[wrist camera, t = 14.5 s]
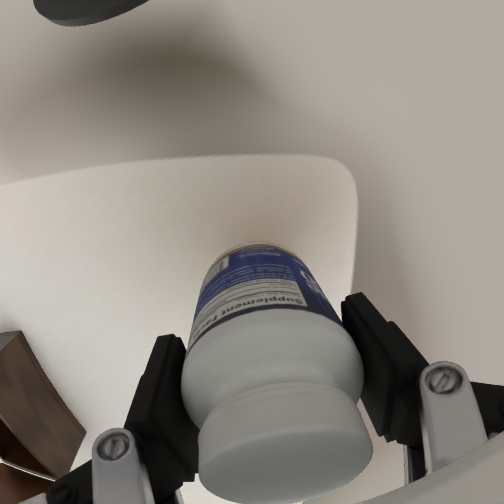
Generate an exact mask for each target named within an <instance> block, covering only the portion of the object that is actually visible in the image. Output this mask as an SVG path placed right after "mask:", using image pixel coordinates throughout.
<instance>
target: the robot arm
mask: <svg viewBox="0 0 504 504" xmlns="http://www.w3.org/2000/svg"><path fill="white" fill-rule="evenodd" d="M341 313H342V323H343V325H344V327H345V328H346V330H347V331H348V333H349V334H350V336H351V337H352V339H353V341H354V343H355V345H356V347H357V349H358V351H359V353H360V356H361V359H362V363H363V368H364V383H363V388H362V392H361V395H360V398H361V400H362V402H363V404H364V406H365V409H366V411H367V413H368V415H369V417H370V419H371V421H372V424H373V426H374V428H375V430H376V432H377V434H378V436H379V437H380V436H383V435H384V437H385V439H386V441H387V443H388V442H390V441H394V440H396V441H397V443H399V444H403V447H404V468H405V486H403V487H401V488H398V489H396V490H393V491H391V492H388V493H386V494H383V495H380V496H377V497H375V498H372V499H369V500H366V501H363V502H360V503H357V504H504V386H500V385H491V384H484V383H477V382H470V381H469V378H468V376H467V374H466V372H465V370H464V369H463V368H462V367H461V366H459V365H458V364H455V363H453V362H448V361H441V362H436V363H432V364H431V365H429V363H428V362H427V361H426V360H425V358H424V357H423V356H422V355H421V353H420V352H419V351H418V350H417V349H416V347H415V346H414V345H413V344H412V343H411V341H410V340H409V339H408V338H407V337H406V335H405V334H404V333H403V332H402V331H401V330H400V328H399V327H398V326H397V325H396V324H395V323H394V322H393V321H389V322H387V321H386V320H385V319H384V318H383V316H382V315H381V314H380V313H379V312H378V311H377V309H376V308H375V307H374V306H373V304H372V303H371V302H370V301H369V300H368V299H367V298H366V296H365V295H364V294H363V293H362V292H360V293H356V294H352V295H348V296H346V298H345V301H342V302H341ZM186 352H187V351H186V349H185V346H184V344H183V342H182V339H181V338H180V337H176V336H175V335H174V334H169V335H163V336H158V337H157V339H156V342H155V345H154V347H153V350H152V353H151V355H150V358H149V361H148V364H147V366H146V369H145V372H144V374H143V375H142V376H141V378H140V381H139V384H138V386H137V389H136V392H135V395H134V398H133V401H132V404H131V407H130V410H129V413H128V416H127V419H126V422H125V425H124V428H112V429H109V430H107V431H105V432H103V433H102V434H100V435H99V436H98V437H97V439H96V440H95V442H94V444H93V448H92V459H91V460H89V461H88V462H86V463H85V464H83V465H81V466H80V467H78V468H76V469H75V470H73V471H71V472H70V473H68V474H66V475H64V476H63V477H61V478H59V479H57V480H56V481H55V482H53V483H52V484H51V485H50V487H49V488H48V491H47V495H46V494H45V493H44V492H43V493H41V494H39V495H37V496H34V497H32V498H30V499H27V500H25V501H23V502H20V503H18V504H184V502H183V499H182V495H181V492H180V489H179V488H180V487H181V486H183V482H194V479H195V473H198V465H199V446H198V436H199V432H200V429H199V428H198V427H197V426H196V425H195V424H194V423H193V421H192V420H191V418H190V417H189V415H188V413H187V411H186V409H185V406H184V403H183V400H182V394H181V376H182V370H183V365H184V361H185V356H186Z"/></svg>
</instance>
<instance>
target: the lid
mask: <svg viewBox="0 0 504 504" xmlns="http://www.w3.org/2000/svg"><path fill="white" fill-rule="evenodd" d="M53 482H54V481H51V480H47V479H44V478H41V477H38V476H35V475H32V474H29V473H27V472H24V471H21V470H19V469H16V468H14V467H11V466H9V465H6V464H4V463H0V504H18V503H20V502H23V501H25V500H27V499H30V498H32V497H34V496H37V495H39V494H41V493H43V492H44V493H45V494H46V495H47V491H48V488H49V487H50V485H51V484H52V483H53Z"/></svg>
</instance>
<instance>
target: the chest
mask: <svg viewBox="0 0 504 504" xmlns="http://www.w3.org/2000/svg"><path fill="white" fill-rule="evenodd" d="M85 434H86V431H85V430H84V429H83V427H82V426H81V425H80V424H79V422H78V421H77V420H76V418H75V417H74V416H73V414H72V413H71V412H70V410H69V409H68V408H67V406H66V405H65V403H64V402H63V400H62V399H61V398H60V396H59V395H58V393H57V392H56V390H55V389H54V387H53V386H52V384H51V383H50V381H49V379H48V378H47V376H46V375H45V373H44V371H43V370H42V368H41V366H40V365H39V363H38V361H37V359H36V358H35V356H34V354H33V352H32V351H31V349H30V347H29V345H28V343H27V341H26V339H25V337H24V335H23V333H22V331H15V332H7V333H0V458H1V459H2V460H3V461H4V462H5V463H7V464H10V465H12V466H15V467H17V468H20V469H22V470H25V471H28V472H31V473H34V474H37V475H40V476H43V477H46V478H49V479H52V480H57V479H59V478H61V477H63V476H64V475H66V474H68V473H69V471H70V469H71V466H72V464H73V462H74V459H75V457H76V455H77V452H78V450H79V448H80V445H81V443H82V441H83V439H84V436H85Z"/></svg>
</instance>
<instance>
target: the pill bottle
mask: <svg viewBox="0 0 504 504" xmlns="http://www.w3.org/2000/svg"><path fill="white" fill-rule="evenodd" d="M363 383H364V368H363V363H362V359H361V356H360V353H359V351H358V349H357V347H356V345H355V343H354V341H353V339H352V337H351V336H350V334H349V333H348V331H347V330H346V328H345V327H344V325H343V323H342V322H341V320H340V319H339V317H338V315H337V314H336V312H335V311H334V309H333V307H332V306H331V304H330V302H329V301H328V299H327V298H326V296H325V294H324V293H323V291H322V290H321V288H320V286H319V285H318V283H317V282H316V280H315V279H314V277H313V275H312V274H311V272H310V271H309V269H308V268H307V267H306V265H305V264H304V263H303V262H302V260H301V259H300V258H299V257H298V256H297V255H296V254H295V253H293V252H292V251H290V250H289V249H287V248H285V247H283V246H280V245H277V244H273V243H268V242H250V243H245V244H241V245H238V246H235V247H233V248H231V249H229V250H228V251H226V252H224V253H223V254H222V255H221V256H219V257H218V258H217V259H216V260H215V261H214V263H213V264H212V265H211V266H210V268H209V270H208V271H207V273H206V276H205V278H204V281H203V284H202V287H201V290H200V294H199V299H198V303H197V307H196V311H195V316H194V320H193V325H192V329H191V333H190V338H189V343H188V348H187V352H186V356H185V361H184V365H183V370H182V376H181V394H182V400H183V403H184V406H185V409H186V411H187V413H188V415H189V417H190V418H191V420H192V421H193V423H194V424H195V425H196V426H197V427H198V428H199V429H200V432H199V436H198V446H199V465H198V473H199V478H200V481H201V483H202V484H203V486H204V487H205V488H206V489H207V490H208V491H210V492H211V493H213V494H215V495H216V496H218V497H220V498H223V499H226V500H229V501H232V502H237V503H241V504H291V503H297V502H302V501H306V500H310V499H313V498H316V497H319V496H322V495H324V494H327V493H329V492H332V491H334V490H336V489H338V488H340V487H342V486H343V485H345V484H347V483H349V482H350V481H351V480H353V479H354V478H355V477H357V476H358V475H359V474H360V473H361V472H362V471H363V470H364V469H365V467H366V466H367V465H368V464H369V462H370V460H371V458H372V454H373V445H372V441H371V439H370V436H369V433H368V431H367V428H366V426H365V423H364V421H363V418H362V416H361V413H360V411H359V409H358V408H357V406H356V404H357V402H358V400H359V398H360V395H361V392H362V388H363Z"/></svg>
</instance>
